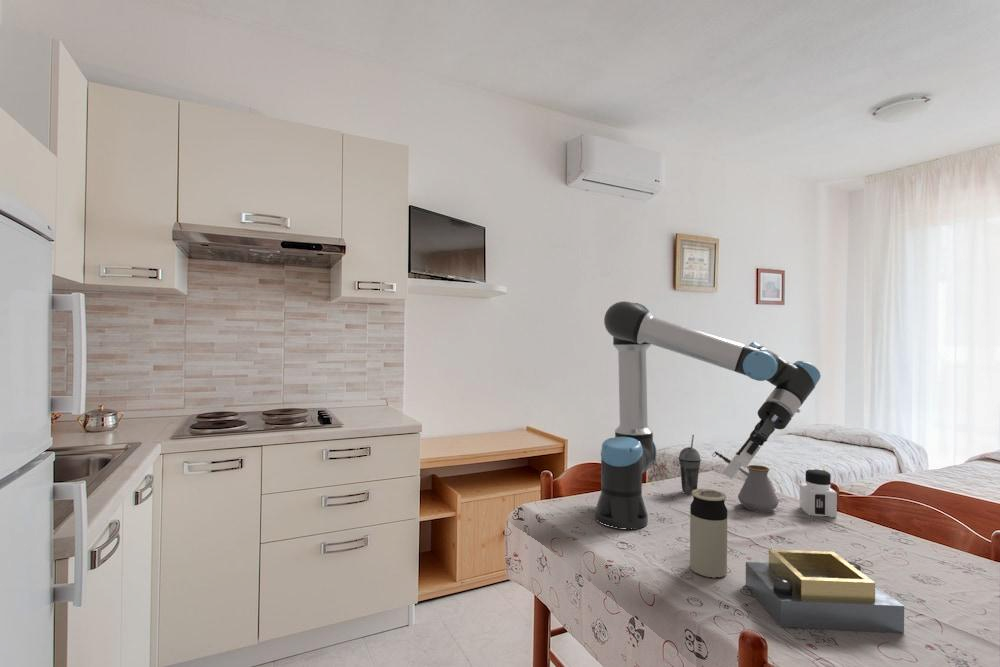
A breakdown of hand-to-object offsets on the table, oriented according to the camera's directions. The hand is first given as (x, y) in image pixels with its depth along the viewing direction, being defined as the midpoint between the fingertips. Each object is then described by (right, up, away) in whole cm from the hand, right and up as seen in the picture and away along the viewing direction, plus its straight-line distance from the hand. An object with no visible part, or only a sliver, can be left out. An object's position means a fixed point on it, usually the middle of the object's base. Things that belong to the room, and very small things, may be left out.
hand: (733, 470), depth 129 cm
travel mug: (-12, -20, -12) cm, 26 cm away
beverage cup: (+5, -20, +45) cm, 49 cm away
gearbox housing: (+4, -20, -28) cm, 34 cm away
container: (+38, -20, +26) cm, 51 cm away
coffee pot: (+19, -20, +34) cm, 43 cm away
